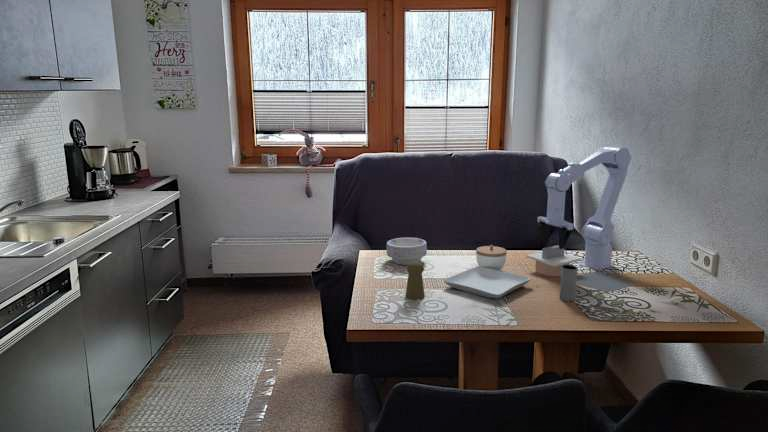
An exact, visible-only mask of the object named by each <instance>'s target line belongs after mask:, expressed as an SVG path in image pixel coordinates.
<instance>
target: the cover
mask: <svg viewBox="0 0 768 432" xmlns="http://www.w3.org/2000/svg"><path fill="white" fill-rule="evenodd" d="M565 248H566V247H565ZM565 248H563V249H559V244H558V245H553V246H547V247H543V248H542V251H540V252H535V253H529V254H526V256H525V257H526V258H527V259H530V260H533V261H535V262H536V261H539V262H542V263H545V264H548V265H551V266H559V265H563V264H568V263H569V264H571V263H576V262H581V260H582V258H581V257H577V256H573V255H571V254H567V253H565Z"/></svg>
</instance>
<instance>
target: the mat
mask: <svg viewBox="0 0 768 432" xmlns="http://www.w3.org/2000/svg"><path fill="white" fill-rule="evenodd" d="M576 284H581V285H583V286H586V287H588V288H591V289H594V290H596V291H600V292H603V293H609V292H613V291H617V290H621V289H624V288H628V287H632V286H635V285H636V286H637V283H636V282H632V281H629V280H627V279H626V280H625V279H623V278H620V277H616V276H614V275H611V274H606V273H604V272H602V271H599V270H595V271H592V272H588V273H584V274H580V275H579V274H578V275H577V282H576Z"/></svg>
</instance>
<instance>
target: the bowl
mask: <svg viewBox="0 0 768 432" xmlns="http://www.w3.org/2000/svg"><path fill="white" fill-rule="evenodd" d="M563 265H570V263H568V264H563ZM563 265H559V266H551V265H548V264H545V263H542V262H539V261H536V260H535V272H536V273H538V274H540V275H542V276H547V277H561V271H562V266H563Z"/></svg>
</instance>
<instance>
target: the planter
mask: <svg viewBox="0 0 768 432" xmlns="http://www.w3.org/2000/svg"><path fill="white" fill-rule="evenodd" d="M577 276H578V267H577V266H576V265H574V264H573V265H572V264H569V265H563V266H562V271H561V276H560V288H559V289H560V290H559V299H560V300H561V301H564V302H574V301H576V293H577V292H576V291H577V283H576V282H577Z"/></svg>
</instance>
